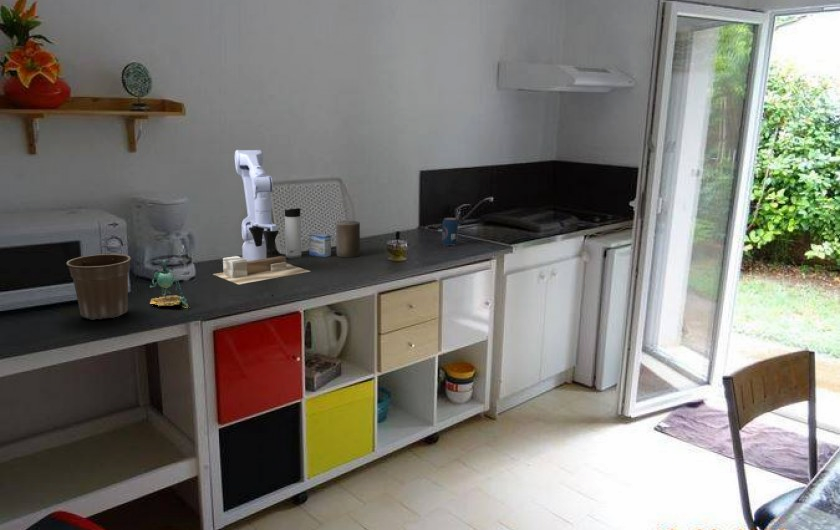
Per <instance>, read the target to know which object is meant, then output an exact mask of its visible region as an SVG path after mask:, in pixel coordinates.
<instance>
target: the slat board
mask: <svg viewBox="0 0 840 530" xmlns="http://www.w3.org/2000/svg"><path fill="white" fill-rule="evenodd" d="M222 265H223V267H222V269H223V272H219V273H213V274H212V275H213V276H216V277H219V278H221V279H224V280H226V281H228V282H231V283H234V284H236V285H244V284H248V283H253V282H254V283H255V282H259V281H265V280H270V279H277V278H281V277H288V276H293V275H299V274H303V273H309V272H311V270H309V269H304V268H302V267H298V266H295V265H292V264H290V263H287V261H286V262H282V263H276V264H271V271H265V272H259V273H254V274H248V275H247V259H245V258H243V256H241V257H240V256H238V255H233V256H228V257H223V258H222Z"/></svg>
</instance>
